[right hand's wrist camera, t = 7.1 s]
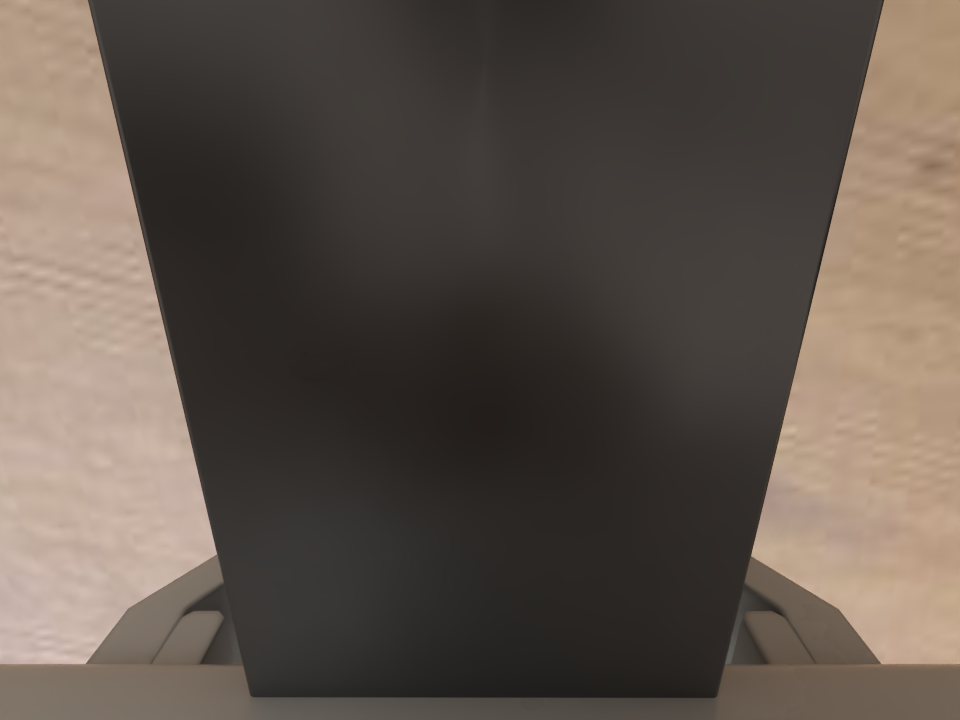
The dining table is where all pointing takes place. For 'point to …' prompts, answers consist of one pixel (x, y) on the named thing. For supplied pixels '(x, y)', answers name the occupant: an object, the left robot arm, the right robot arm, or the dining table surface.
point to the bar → (485, 318)
